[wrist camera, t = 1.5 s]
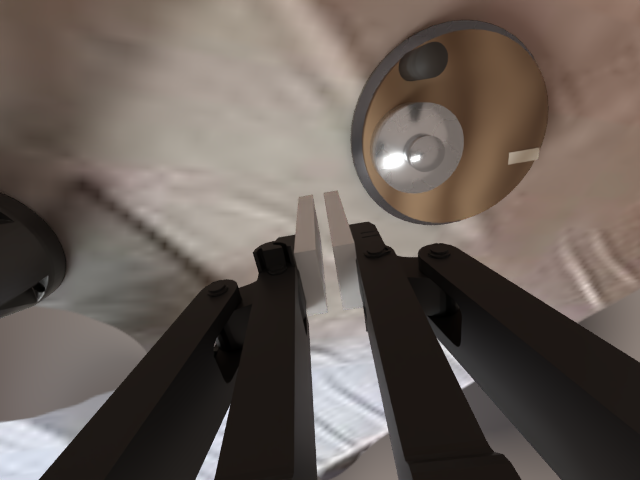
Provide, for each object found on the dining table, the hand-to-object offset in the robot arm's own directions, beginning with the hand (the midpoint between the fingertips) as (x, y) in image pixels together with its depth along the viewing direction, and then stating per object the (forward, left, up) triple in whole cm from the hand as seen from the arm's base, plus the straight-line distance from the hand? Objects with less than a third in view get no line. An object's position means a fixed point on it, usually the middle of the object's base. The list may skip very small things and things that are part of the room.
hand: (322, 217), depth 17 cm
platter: (+14, 0, -17) cm, 22 cm away
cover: (+10, 0, -16) cm, 18 cm away
